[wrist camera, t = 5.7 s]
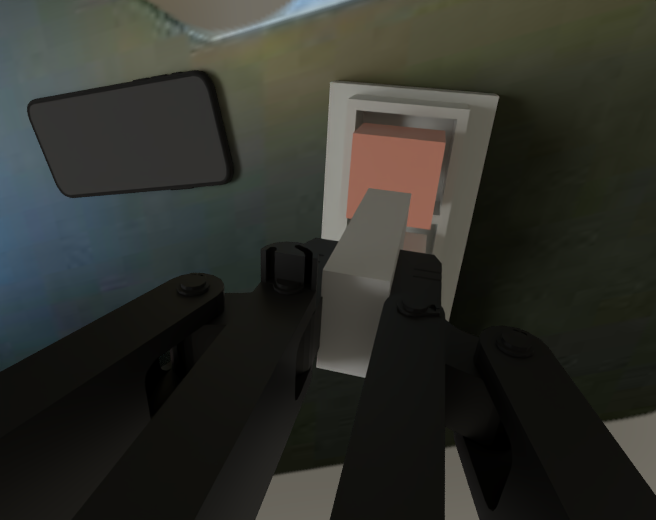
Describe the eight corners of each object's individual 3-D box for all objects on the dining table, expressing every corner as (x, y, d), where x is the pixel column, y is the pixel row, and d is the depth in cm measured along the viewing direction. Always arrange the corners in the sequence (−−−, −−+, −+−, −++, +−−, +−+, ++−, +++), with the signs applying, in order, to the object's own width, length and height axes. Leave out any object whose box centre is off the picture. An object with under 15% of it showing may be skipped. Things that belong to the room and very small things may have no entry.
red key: (363, 122, 22) (353, 133, 19) (445, 130, 21) (445, 142, 18) (356, 198, 23) (345, 218, 21) (431, 208, 23) (430, 229, 20)
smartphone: (19, 100, 30) (205, 66, 26) (30, 99, 31) (213, 66, 27) (61, 200, 33) (234, 185, 29) (70, 197, 34) (240, 181, 30)
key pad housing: (336, 80, 25) (319, 85, 22) (496, 93, 24) (505, 101, 20) (320, 330, 33) (306, 363, 30) (438, 353, 32) (438, 390, 28)
